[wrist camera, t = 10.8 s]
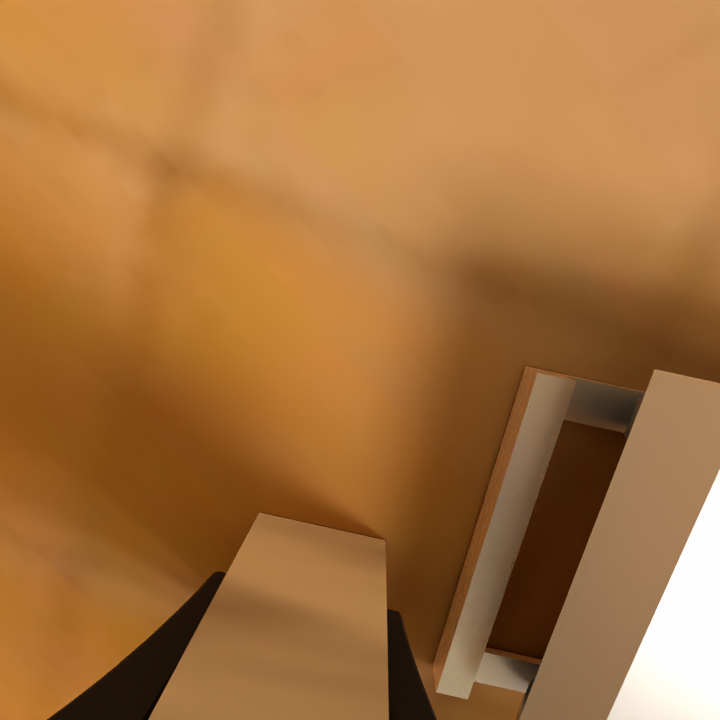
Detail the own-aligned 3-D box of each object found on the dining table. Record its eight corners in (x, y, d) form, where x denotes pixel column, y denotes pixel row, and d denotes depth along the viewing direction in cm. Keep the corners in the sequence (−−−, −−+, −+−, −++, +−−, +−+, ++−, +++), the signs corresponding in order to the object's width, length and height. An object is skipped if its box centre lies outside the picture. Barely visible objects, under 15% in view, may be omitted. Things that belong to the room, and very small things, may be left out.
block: (359, 643, 12) (339, 977, 6) (241, 617, 12) (113, 924, 6) (385, 540, 11) (390, 813, 5) (259, 512, 11) (130, 752, 6)
